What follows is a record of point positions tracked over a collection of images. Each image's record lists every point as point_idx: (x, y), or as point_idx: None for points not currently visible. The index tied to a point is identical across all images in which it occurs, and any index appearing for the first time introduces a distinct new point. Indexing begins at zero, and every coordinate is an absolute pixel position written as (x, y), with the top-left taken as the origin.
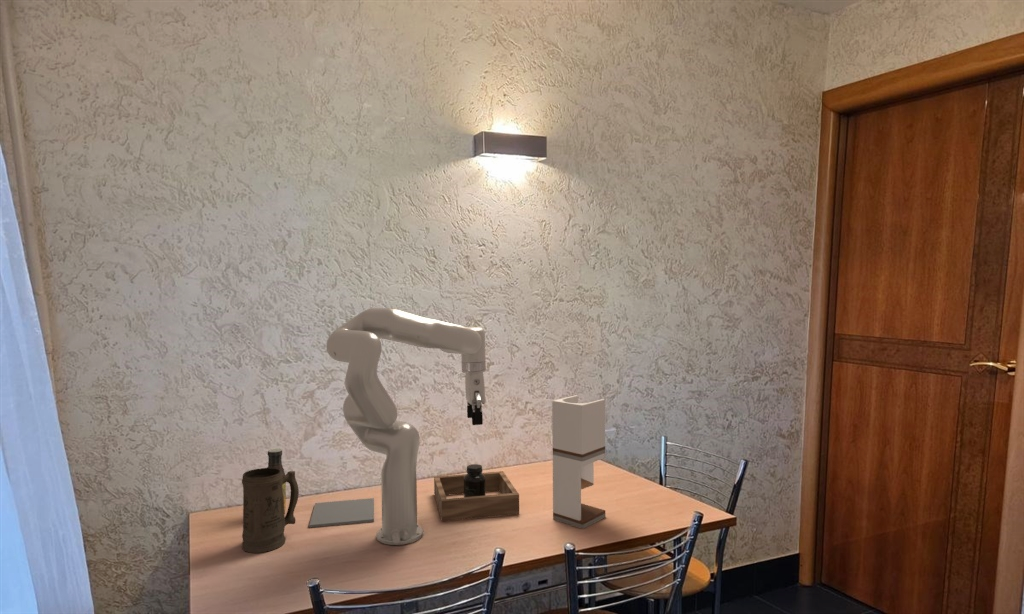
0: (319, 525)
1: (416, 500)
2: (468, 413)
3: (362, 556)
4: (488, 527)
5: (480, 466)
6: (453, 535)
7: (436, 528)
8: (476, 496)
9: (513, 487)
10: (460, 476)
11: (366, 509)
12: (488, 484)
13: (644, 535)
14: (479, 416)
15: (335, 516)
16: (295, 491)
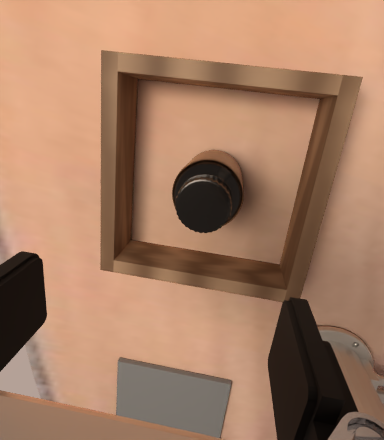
0: None
1: (370, 403)
2: (24, 341)
3: None
4: (380, 194)
5: (212, 186)
6: (378, 277)
7: (320, 296)
8: (308, 215)
9: (284, 72)
10: (115, 204)
11: (175, 383)
12: (129, 113)
13: None
14: (342, 389)
15: (191, 427)
16: None
